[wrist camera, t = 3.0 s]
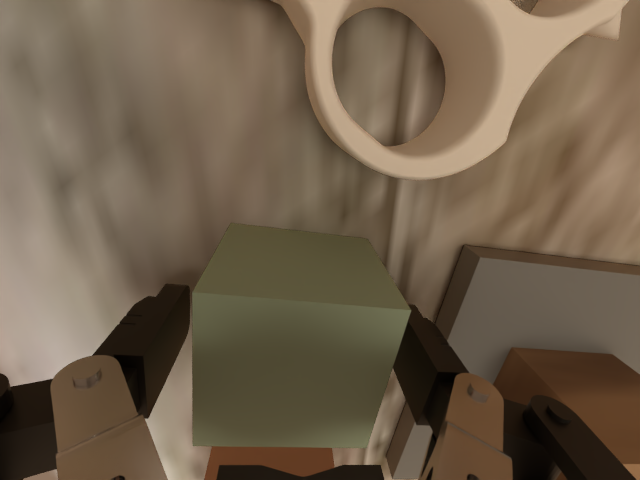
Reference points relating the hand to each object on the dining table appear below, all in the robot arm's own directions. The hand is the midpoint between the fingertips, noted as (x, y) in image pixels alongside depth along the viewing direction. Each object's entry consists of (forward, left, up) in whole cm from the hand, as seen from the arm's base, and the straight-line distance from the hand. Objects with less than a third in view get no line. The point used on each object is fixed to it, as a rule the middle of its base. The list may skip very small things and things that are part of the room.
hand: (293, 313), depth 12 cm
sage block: (0, 0, -2) cm, 2 cm away
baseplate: (+4, +13, -1) cm, 14 cm away
